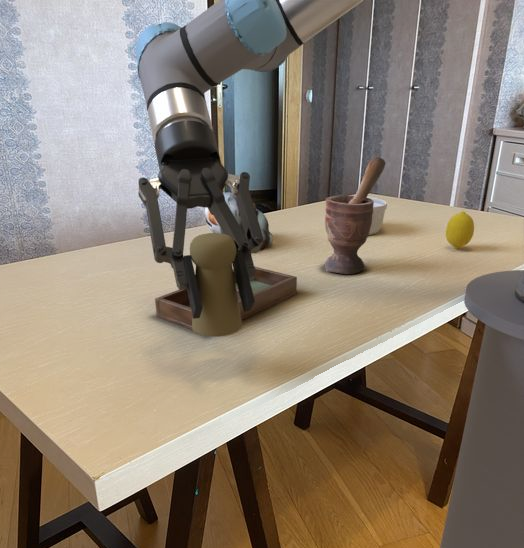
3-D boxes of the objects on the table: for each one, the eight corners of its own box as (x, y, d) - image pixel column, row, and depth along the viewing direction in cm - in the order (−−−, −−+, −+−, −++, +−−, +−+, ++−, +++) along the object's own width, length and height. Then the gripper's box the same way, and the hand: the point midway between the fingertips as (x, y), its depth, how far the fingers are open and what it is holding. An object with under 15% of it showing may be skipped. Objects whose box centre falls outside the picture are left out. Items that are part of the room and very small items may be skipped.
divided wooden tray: (296, 293, 90) (297, 276, 88) (209, 335, 75) (208, 316, 73) (246, 280, 96) (246, 264, 94) (156, 316, 81) (154, 298, 80)
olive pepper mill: (249, 331, 62) (246, 238, 57) (198, 339, 60) (191, 244, 55) (234, 313, 67) (230, 226, 62) (187, 320, 65) (179, 231, 60)
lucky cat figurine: (276, 250, 112) (250, 195, 103) (225, 271, 115) (194, 219, 105) (269, 215, 123) (244, 162, 114) (222, 235, 126) (195, 185, 116)
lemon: (475, 249, 113) (482, 212, 109) (459, 254, 110) (465, 215, 106) (454, 244, 117) (460, 207, 113) (437, 248, 114) (443, 210, 111)
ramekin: (394, 229, 129) (397, 200, 126) (365, 240, 120) (368, 209, 117) (348, 221, 136) (350, 193, 133) (318, 231, 128) (319, 201, 125)
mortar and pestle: (342, 256, 109) (349, 153, 100) (381, 263, 105) (392, 156, 96) (314, 270, 101) (319, 159, 92) (355, 279, 96) (365, 163, 87)
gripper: (248, 155, 71) (291, 312, 65) (109, 163, 66) (140, 333, 60) (260, 114, 65) (309, 285, 58) (106, 119, 59) (141, 306, 53)
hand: (223, 309), depth 59 cm, fingers closed on olive pepper mill, 5 cm apart
